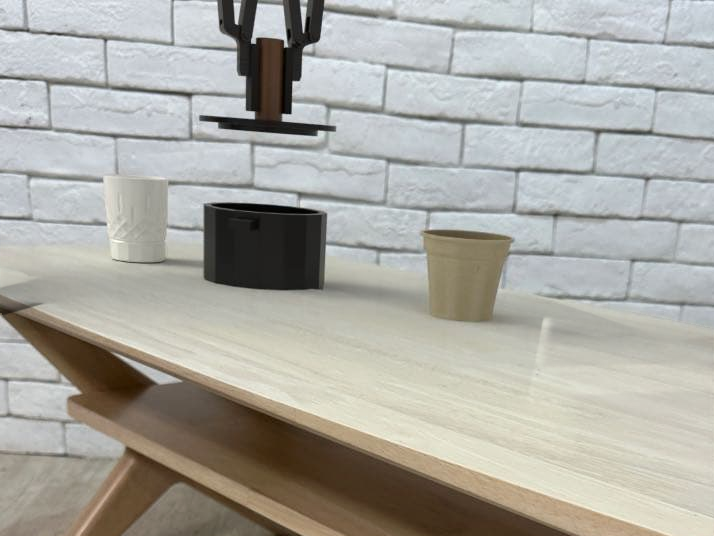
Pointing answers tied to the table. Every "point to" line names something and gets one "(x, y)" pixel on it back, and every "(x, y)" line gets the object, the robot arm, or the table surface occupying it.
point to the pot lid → (269, 98)
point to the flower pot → (464, 272)
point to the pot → (264, 246)
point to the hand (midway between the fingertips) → (268, 112)
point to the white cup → (136, 216)
